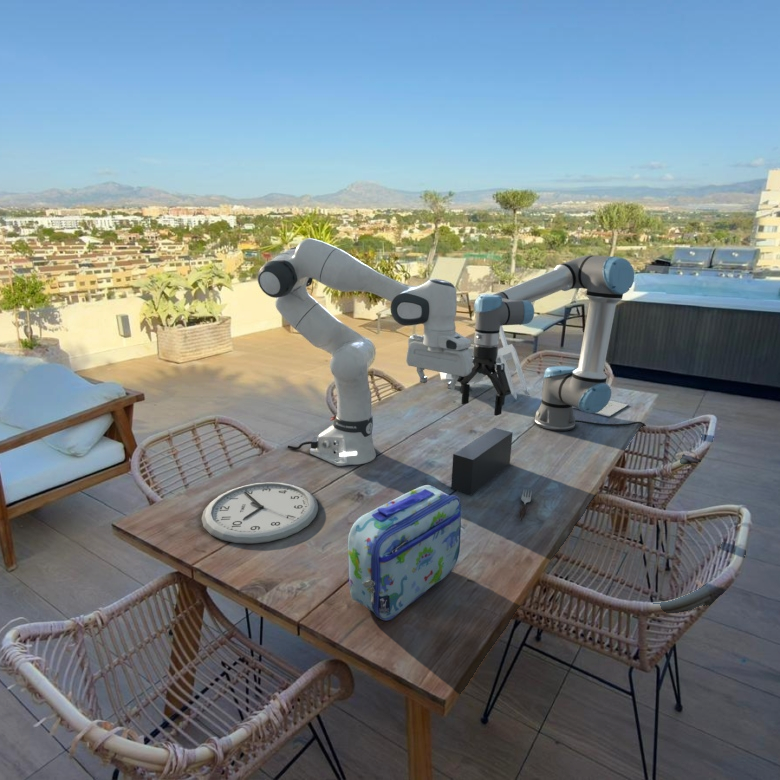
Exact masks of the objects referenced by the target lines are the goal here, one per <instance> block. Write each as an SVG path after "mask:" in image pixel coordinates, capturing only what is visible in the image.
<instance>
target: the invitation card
mask: <svg viewBox="0 0 780 780" xmlns="http://www.w3.org/2000/svg"><path fill="white" fill-rule="evenodd" d="M628 406H629V404H627V403H623V402H618V401H614V400H611V399H610V400H609V402H608V404H607V405H606V406H605V407H604V408H603V409H602V410H601V411H599V412H597V413H595V414H596V415H600V416H604V417H608V418H609V417H611V416H613V415H614V414H616V413H617V412H619V411H621V410H623V409H624V408H626V407H628ZM573 409H575V410H578V409H577V408H575V407H573Z"/></svg>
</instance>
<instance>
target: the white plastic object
mask: <svg viewBox="0 0 780 780" xmlns="http://www.w3.org/2000/svg"><path fill="white" fill-rule="evenodd" d="M499 339H500V342H501V345H502V347H500V348H498V354H497V358H496V364H502V363H504V365H505V374H506V377H507V380H508V384H509V387H510V391H511V394H510V395H512V397H513V398H514V399H515V400H517V392H516V391H517V390H516V388H515V385H514V381H513V378H512V375H511V371H510V369H509V365H508V361H510V360H513V363H514V366H515V369H516V372H517V376H518V380H519V382H520V385H521V389H522V391H523V393H524V395H525V396H526V397H528V396H531V395H530V390H529V388H528V387H529V386H528V384H527V381H526V378H525V375H524V371H523V369H522V368H523V367H522V366H521V362H520V359H519V355H518V352H517V349H516V347H515V346H514V345H513V343H511V344H508V341H507V337H506V334H505V331H504V328H503V326H500V332H499ZM468 348H469V349H470V351H471V353H472V356H473V351H474V346H470V347H468ZM473 358H474V356H473ZM473 367H474V364H473V363H472V368H473ZM495 370H496V368H495ZM439 376H440V381H442V383H443V384H444V385H445V386H448V383H449V382H451V381H452V379H453V378H451V374H447V373H442V372H439ZM485 377H487V375H484V374H482V373H477V374H476V375H475V376H474V377H473V378H472V379H471V380H470V381H469V382H468V383H473V384H477V383H480V382H482V381H484V378H485ZM458 384H461V383H460V382H458V381H456V383H455V385H458Z"/></svg>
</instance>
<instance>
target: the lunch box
mask: <svg viewBox="0 0 780 780" xmlns="http://www.w3.org/2000/svg"><path fill="white" fill-rule="evenodd" d="M461 520H462V506H461V500H460V498H459V497H458V496H457V495H454V494H450V495H449V494H448V493H445V492H444V491H442V490H440V489H438V488H436V487H435V486H432V485H430V484H425V485H420V486H418V487H416V488H415V489H412V490H410V491H408V492H406V493H404V494H402V495H400V496H398V497H396V498H394V499H392V500H390V501H388V502H386V503H384V504H382V505H380V506H378V507H377V508H375V509H372V510H371V511H368V512H367V513H365V514H362V515H361V516H359V517H357V519H356V520H355V521H354V523H353V524H352V526H351V528H350V530H349V533H348V536H347V537H348V538H347V557H348V559H347V560H348V586H349V592H350V597H351V599H352V600H353V601H355V602H356V603H358V604H360V605H362V606H364V607H365V608H366V609H368V610H369V611H371V612H372V613H374V615H375V616H376V617H377V618H379V619H380V620H383V621H390V620H393V619H394V618H395V617H397V616H398V615H399V614H400V613H401V612H402V611H403V610H405V609H406V608H407V607H408V606H409V605H411V604H412V603H414V602H415V601H416V600H417V599H419V598H420V597H421V596H422V595H424V594H425V593H426V592H427V591H429V589H431V588H432V587H433V586H435V585H436V584H438V583H439V582H440V581H442V580H444V579H445V578H446V577H448V575H450V573H451V572H452V571H453V570H454V568H455V566H456V564H457V562H458V559H459V555H460V552H461V551H460V549H461V535H462V534H461V533H462V521H461Z"/></svg>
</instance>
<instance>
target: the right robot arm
mask: <svg viewBox="0 0 780 780" xmlns="http://www.w3.org/2000/svg"><path fill="white" fill-rule="evenodd" d="M634 281H635V270H634V267H633V265H632V263H631V262H630V261H629V260H628V259H626V258H624V257H618V256H608V255H595V254H594V255H593V254H588V255H583V256H579V257H576V258H573V259H571V260H568V261H564V262H563V263H561V264H557V265H556V266H555V267H554V269H553V270H551V271H548V272H546V273H543V274H540V275H538V276H536V277H533V278H531V279H528V280H526V281H523V282H520V283H518V284H516V285H513V286H511V287H508V288H506V289H503V290H501V291H499V292H496V293H493V294H487V293H486V294H481V295H479V296H478V297H476V299H475V301H474V305H473V307H474V311H475V326H474V340H473V341H474V342H473V343H474V345H473V347H474V351H473V356H474V358H473V356H472V363H473V364H474V367H473V368H472V371H471V373H470V374H469V375H467V376H465V377H462V376H459V378H458V380H457V381H458V382H460V383H459V384H460V386H461V387H460V394H461V405H467V404H469V403H470V402H469V401H470V387H471V385H470V382H469V381H470V380H471V379H472V378H473V377H474V376H475V375H476V374H477V373H482V374H484V375H486V377H487V378H488V379H489V380H490V382H491V383H492V386H493V387H494V389H495V392H496V393H497V395H495V400H494V411H493V415H494V416H495V417H497V416H500V415H502V412H503V406H504V405H505V399H506V398H505V397H506V396H508V395H512V394H511V391H510V387H509V384H508V380H507V377H506V374H505V365H504V363H501V364H496V358H497V354H498V349H499V347H498V345H499V344H500V335H499V332H500V326H502V327H503V326H518V325H519V326H522V325H526V324H527V325H528V324H530V323H531V322H532V321H533V319H534V317H535V308H534V305H533V303H534V302H536V301H538V300H540V299H543V298H546V297H548V296H551V295H553V294H555V293H558V292H560V291H562V292H567V291H570V290H573V289H584V290H586V294H585V296H586V297H587V299H588V300H589V304H588V309H587V315H586V320H585V325H584V330H583V331H584V332H583V337H582V342H581V349H580V354H579V360H578V365H577V367H574V366H566V365H565V366H564V365H559V366H558V365H557V366H550V367H547V368H546V369H545V370H544V375H543V381H542V392H541V402H540V405H539V407H538V409H537V410H536V411H535V416H534V424H535V425H536V426H537V427H539V428H542V429H544V430H549V431H556V432H567V431H572V430H574V429H575V428H576V423H580V424H588V425H594V426H605V427H620V426H632V425H638V424H639V425H642V426H643V427H647V425H646V424H645V423H644V422H642V421H633V422H627V423H601V422H592V421H587V420H585V421H584V420H578V419H576V418H575V417H576V416H575V413H574V409H576V408H577V409H576V410H579V411H581V412H583V413H584V412H586V413H588V414H596V413H597V412H599V411H601V410H602V409H603V408H604V407H605V406H606V405H607V404H608V402H609V400H610V401H611V398H612V388H611V387H610V386H609V385H608V383H607V379H608V375H607V374H606V373H605V370H604V369H605V365H606V359H607V355H608V354H607V353H608V349H609V343H610V339H611V333H612V327H613V323H614V318H615V313H616V308H617V304H618V303H619V302H620V301H622V300H623V297H624V294H626V293H628V292H629V291H630V289H631V288H632V287H633V284H634V283H635V282H634ZM495 368H496V369H495ZM574 407H575V408H574Z"/></svg>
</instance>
